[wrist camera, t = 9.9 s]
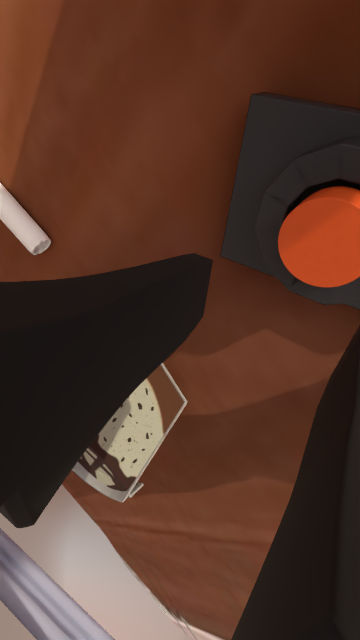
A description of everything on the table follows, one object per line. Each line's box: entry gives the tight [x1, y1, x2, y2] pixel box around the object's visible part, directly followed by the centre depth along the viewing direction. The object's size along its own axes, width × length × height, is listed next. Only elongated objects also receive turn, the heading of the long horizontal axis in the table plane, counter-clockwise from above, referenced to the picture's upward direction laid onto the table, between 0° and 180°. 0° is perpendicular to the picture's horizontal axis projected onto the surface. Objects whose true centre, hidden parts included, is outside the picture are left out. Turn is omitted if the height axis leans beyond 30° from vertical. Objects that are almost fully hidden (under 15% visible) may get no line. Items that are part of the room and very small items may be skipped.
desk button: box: [278, 186, 360, 287], centre depth 14 cm, size 4×4×2 cm
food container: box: [72, 363, 188, 503], centre depth 30 cm, size 12×6×10 cm, turn 36°
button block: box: [221, 92, 360, 310], centre depth 15 cm, size 11×8×4 cm
